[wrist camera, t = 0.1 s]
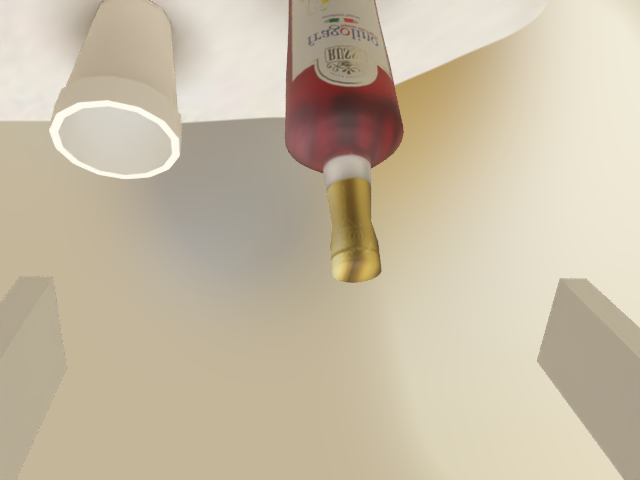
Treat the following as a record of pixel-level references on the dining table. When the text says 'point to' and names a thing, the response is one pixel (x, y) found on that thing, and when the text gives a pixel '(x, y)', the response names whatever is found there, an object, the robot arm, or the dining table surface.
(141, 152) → the foam cup
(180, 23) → the dining table surface
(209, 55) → the dining table surface
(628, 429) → the robot arm
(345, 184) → the liquor
